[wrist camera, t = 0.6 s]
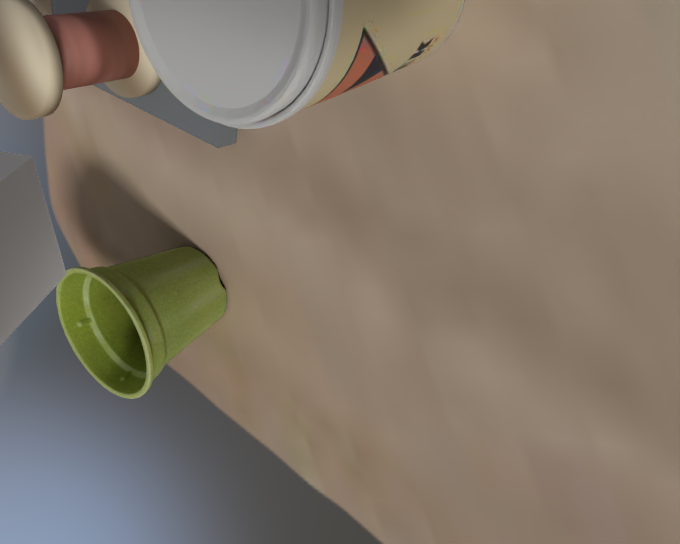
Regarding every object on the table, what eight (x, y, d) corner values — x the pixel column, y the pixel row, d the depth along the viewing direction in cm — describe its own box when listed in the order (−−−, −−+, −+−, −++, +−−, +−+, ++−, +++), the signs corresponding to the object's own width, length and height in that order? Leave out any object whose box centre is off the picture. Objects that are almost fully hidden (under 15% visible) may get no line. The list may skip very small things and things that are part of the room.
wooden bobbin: (122, -38, 38) (-9, -34, 33) (180, 53, 38) (60, 72, 32) (85, 33, 43) (-36, 47, 37) (138, 114, 43) (25, 141, 37)
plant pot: (233, 363, 49) (142, 425, 43) (150, 296, 53) (54, 344, 46) (256, 270, 44) (156, 325, 38) (162, 201, 47) (55, 240, 41)
